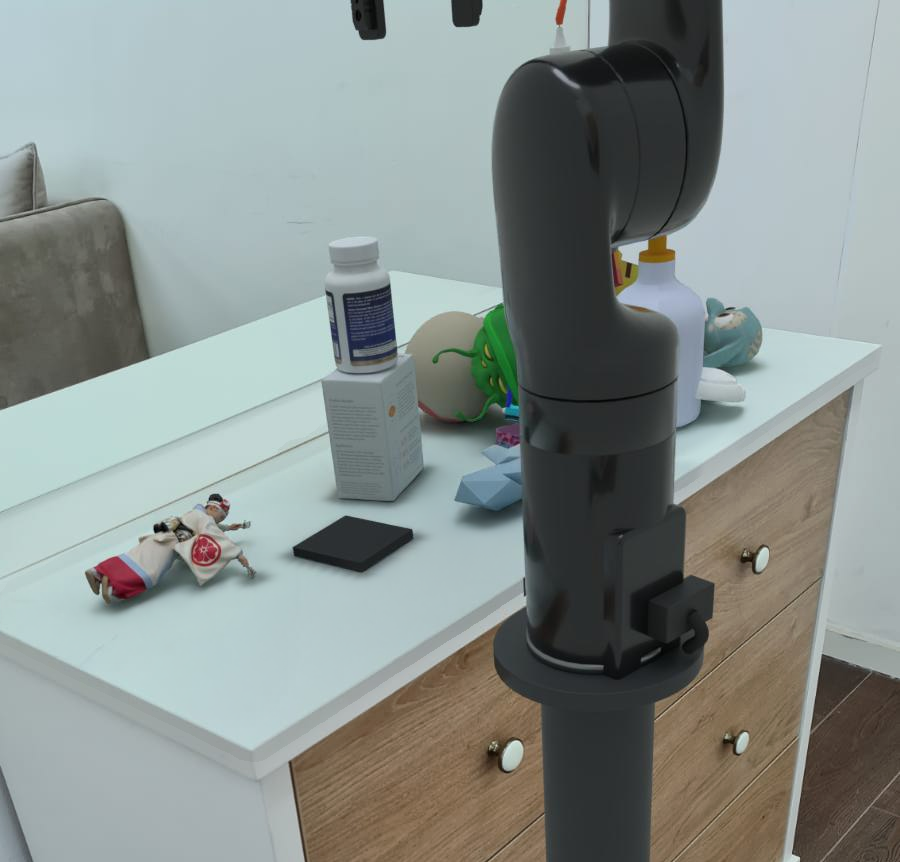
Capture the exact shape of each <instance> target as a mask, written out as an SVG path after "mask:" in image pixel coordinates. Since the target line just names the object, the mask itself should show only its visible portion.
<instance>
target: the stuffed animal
mask: <svg viewBox="0 0 900 862" xmlns="http://www.w3.org/2000/svg"><path fill="white" fill-rule="evenodd" d="M705 306H706V313H707V317H705V329H704V349H703V367H709V368H716V369H717V368H719V367H722V368H729V367H730V368H731V367H732V368H733V367H738V366H741V365H744V364H748V363H750V362H751V361H752V360H753V359H754V358H755V357H756V356H758V354H759V352H760V349H761V347H762V344H763V327H762V325H761V322H760V320H759V318H758V317H757V316H756V314H755V313H754V312H753V311H752V310H751V308H750V307H747V306H744V307H742V308H738V307H736V306H735V307H734V306H730V307H725V306H724V303H723V302H721V301H720V300H719V299H717V298H716V297H707V298H706V302H705Z"/></svg>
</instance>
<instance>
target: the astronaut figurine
mask: <svg viewBox="0 0 900 862" xmlns="http://www.w3.org/2000/svg"><path fill="white" fill-rule="evenodd" d="M746 396H747V393H746V389H745V388H744V387H743V386H742V385H741V384H740V383H738V379H736V377H734V376H733V375H732V374H730V373H729V372H727V371H725V370H722V369H720V368H717V367H716V368H709V367H703V368H702V375H701V379H700V381H699V384H698V389H697V392H696V396H695V398H696V399H701V400H704V401H713V402H721V403H742V402H744V401H745V399H746Z"/></svg>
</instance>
